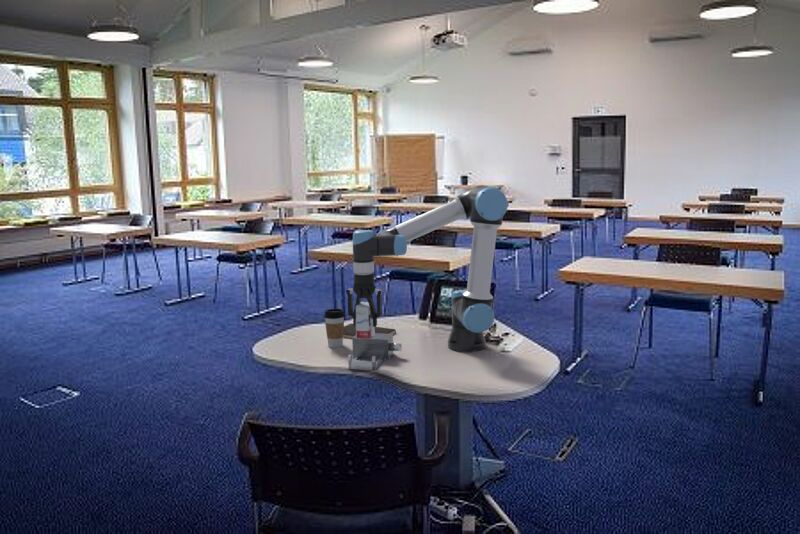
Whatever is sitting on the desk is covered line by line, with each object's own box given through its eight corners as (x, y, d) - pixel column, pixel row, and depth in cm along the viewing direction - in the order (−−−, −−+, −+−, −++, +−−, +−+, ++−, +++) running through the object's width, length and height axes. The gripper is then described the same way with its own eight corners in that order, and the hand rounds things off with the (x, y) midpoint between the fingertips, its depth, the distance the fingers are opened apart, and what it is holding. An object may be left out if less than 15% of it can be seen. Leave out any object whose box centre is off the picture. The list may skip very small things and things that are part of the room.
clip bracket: (383, 359, 253) (382, 347, 253) (375, 370, 242) (374, 357, 241) (358, 358, 256) (357, 345, 255) (348, 368, 244) (348, 355, 243)
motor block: (403, 354, 260) (402, 329, 258) (398, 360, 252) (398, 335, 250) (358, 352, 264) (358, 327, 262) (353, 358, 256) (352, 333, 254)
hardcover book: (376, 343, 276) (376, 338, 276) (331, 337, 288) (331, 331, 287) (395, 333, 290) (395, 328, 290) (351, 328, 301) (351, 323, 301)
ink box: (369, 338, 243) (368, 307, 241) (356, 338, 244) (355, 306, 242) (374, 332, 251) (373, 301, 249) (362, 331, 252) (361, 301, 250)
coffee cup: (321, 347, 271) (319, 311, 268) (331, 341, 279) (329, 306, 276) (340, 349, 268) (338, 313, 265) (349, 343, 275) (348, 308, 273)
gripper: (390, 271, 245) (391, 332, 249) (343, 270, 249) (345, 330, 253) (385, 275, 238) (386, 338, 242) (337, 274, 242) (339, 336, 246)
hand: (365, 334), depth 247 cm, fingers closed on ink box, 5 cm apart
